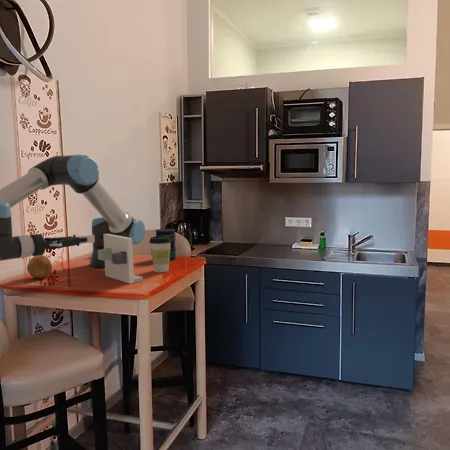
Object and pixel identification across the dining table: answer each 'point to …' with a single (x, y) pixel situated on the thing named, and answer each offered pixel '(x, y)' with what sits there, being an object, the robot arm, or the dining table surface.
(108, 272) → the button panel
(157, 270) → the coffee cup
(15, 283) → the dining table surface
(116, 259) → the black button
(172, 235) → the storage jar
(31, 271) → the onion
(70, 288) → the dining table surface
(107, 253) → the sage button
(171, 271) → the dining table surface
